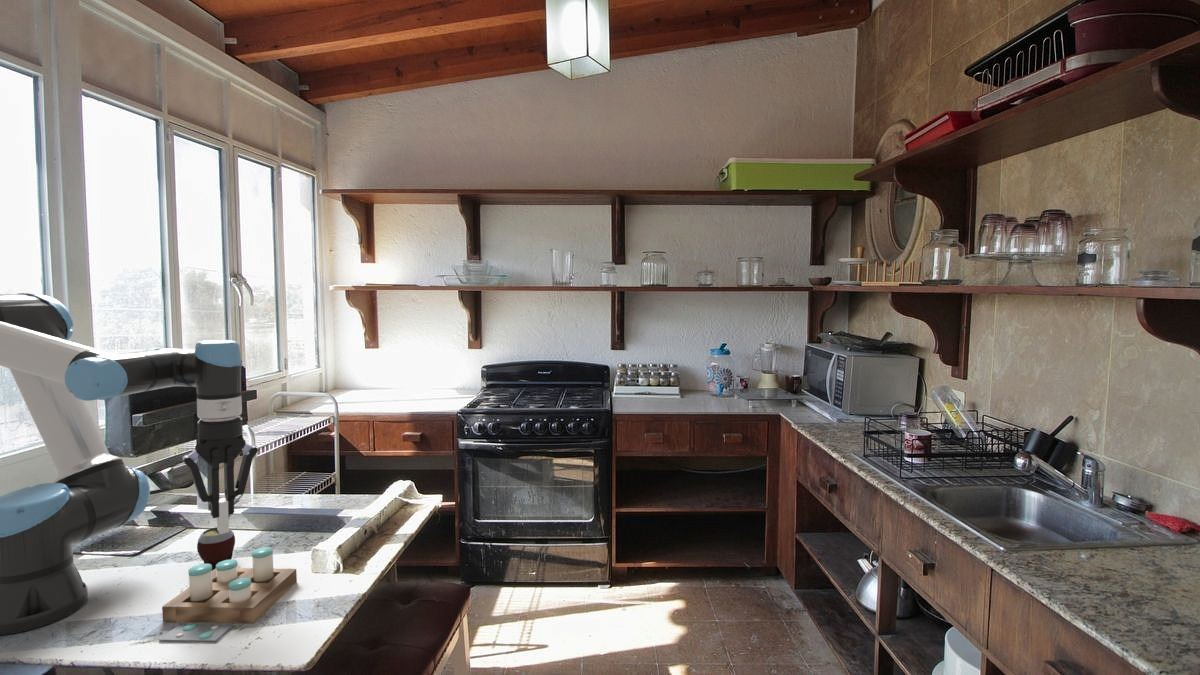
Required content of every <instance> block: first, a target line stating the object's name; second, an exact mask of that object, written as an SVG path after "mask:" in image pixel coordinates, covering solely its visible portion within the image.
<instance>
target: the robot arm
mask: <svg viewBox="0 0 1200 675" xmlns="http://www.w3.org/2000/svg"><path fill="white" fill-rule="evenodd" d="M73 327H74V321H73V317H72V314H71V313H70V311H69V309H68V308H67V307H66V306H65V305H64V304H63V303H62V302H60V301H59V300H58V299H56V298H54V297H51V296H48V295H46V294H33V293H30V292H29V293H27V292H21V293H19V292H18V293H8V294H7V293H5V294H3V293H1V294H0V367H2V368H3V367H4V368H7V369H9V371H10V373H11V374H12V378H13V379H14V382H15V383H16V386H17V387H18V390H19V392H20V394H21V396H22V399H23V401H24V402H25V403H24V404H25V406H26V407H27V410H28V411H29V414H30V416H31V417H32V419H33V422H34V424H35V426H36V429H37V430H38V433H39V435H40V437H41V439H42V441H43V444H44V445H45V448H46V450H47V452H48V454H49V456H50V458H51V460H52V462H53V465H54V467H55V469H56V472H57V474H56V476H55V478H54V480H53V481H52V482H45V483H40V484H35V485H33V486H26V487H23V488H20V489H16V490H12V491H10V492H8V493H5V494H4V495H2V496H0V636H5V635H11V634H17V633H22V632H26V631H31V630H34V629H37V628H41V627H44V626H47V625H50V624H52V623H56V622H58V621H60V620H61V619H64V618H66V617H68V616H70V615H72V614H74V613H76V612H77V611H78V610H80V609H82V607H83V606H85V605H86V603H87V602H88V599H89V594H88V586H87V584H86V583H85V582H84V581H83V579H82V577H81V574H80V572H79V570H78V568H77V567H76V565H75V563H74V551H73V550H74V548H73V546H74V545H75V544H78V543H81V542H83V541H86V540H88V539H91V538H93V537H95V536H98V535H101V534H103V533H105V532H108V531H110V530H112V529H117V528H120V527H121V526H124V525H126V524H127V523H128V522H131V521H133V520H135V519H136V518H138V517H140V516H141V514H143V512H144V511H145V509H146V508H147V505H148V502H149V500H150V496H151V495H150V494H151V488H150V483H149V480H148V478H147V476H146V475H145V473H144V472H143V471H142V470H139V469H138V468H136V467H133V466H126V465H125V463H124V461H123V458H122V457H119V456H117V455H113V454H111V453H109V450H108V447H107V445H106V444H105V441H104V440H103V439H104V438H103V437H102V435H101V433H100V430H99V429H98V427H97V425H96V422H95V421H94V418H93V416H92V413H91V411H90V409H89V408H88V405H87V403H86V402H87V401H89V402H90V401H97V400H102V401H104V400H111V399H113V398H117V397H123V396H128V395H132V394H138V393H142V392H149V391H150V392H151V391H154V390H156V391H157V390H159V389H166V388H172V387H187V388H188V387H191V388H196V415H197V418H198V419H199V420H198V421H197V442H196V445H195V447H194V450H193V451H192V452H190V453H188V454H184V455H183V456H182V457H181V460H182V462H183V463H184V464H185V465H186V466H187V467H188V469H189V472H190V475H191V477H192V481H193V483H194V486H195V489H196V492H197V495H198V498H199V499H200V501H201V502H203V503H206V502H208V503H210V504H209V505H210V515H211V517H212V518H213V519H216V527H217V530H218V532H219V533H220V534H223V533H228V532H229V528H230V526H229V525H230V524H229V520H230V518H228V515H230V516H231V515H234V513H235V505H234V501H235V500H236V497H238V496H241V495H242V494H243V495H244V493H245V491H246V488H247V482H248V479H249V474H250V471H251V467H252V463H253V460H254V457H255V456H256V454H257V453H258V451H259V449H258V448H257V446H255V445H253V444H252V445H250V444H249V443H247V442H246V440H245V438H244V436H243V435H244V434H243V433H244V432H243V418H242V416H241V414H243V406H242V405H243V403H242V364H243V360H242V355H241V347H240V344H239V343H238V341H235V340H230V339H221V340H219V339H212V340H210V339H209V340H202V341H201V340H200V341H198V342H197V343H196V344H195V345H194V346H195V349H186V348H185V349H184V348H175V347H174V348H173V347H168V346H166V347H152V348H150V349H149V348H148V349H147V350H145V351H141V352H129V353H121V354H120V353H118V354H116V353H111V352H109V351H106V350H105V351H104V350H100V349H97V348H95V347H91V346H87V345H83V344H80V343H77V342H73V341H71V340H70V339H71V338H72V336H73V333H74V330H73ZM241 452H242V454H243V456H242V459H241V463H240V467H239V470H238V475H237V477H236V478H237V479H236V483H235V472H234V471H235V460H236V459H237V457H238V456H239V454H240V453H241ZM198 456H200V457H201V458H202V459H203V460H204V461H205V462H206V463H208V473H209V474H208V475H209V476H208V477H209V479H208V481H209V482H208V483H209V485H208V486H209V493H208V492H207V489H206V486H205V483H204V481H203V477H202V474H201V471H200V468H199V466H198V465H197V463H199V457H198ZM221 464H223V479H224V482H223V483H224V496H225V497H221V498H220V465H221Z"/></svg>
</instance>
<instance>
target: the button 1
mask: <svg viewBox="0 0 1200 675" xmlns="http://www.w3.org/2000/svg"><path fill="white" fill-rule="evenodd" d="M188 582H189V583H188V585H189V587H190V600H191V601H201V600H205V599H207V598H209V597H211V596H212V595H213V585H212V565H211V564H203V563H201V564H197V565H194V566H192V567H190V568H189V569H188Z"/></svg>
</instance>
